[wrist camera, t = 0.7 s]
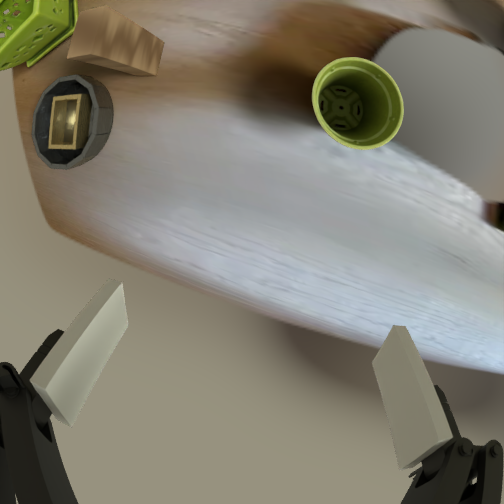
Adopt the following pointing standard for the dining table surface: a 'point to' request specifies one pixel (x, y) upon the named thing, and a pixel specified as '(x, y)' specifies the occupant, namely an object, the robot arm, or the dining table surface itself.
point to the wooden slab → (115, 43)
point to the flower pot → (34, 29)
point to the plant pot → (357, 103)
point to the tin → (72, 121)
